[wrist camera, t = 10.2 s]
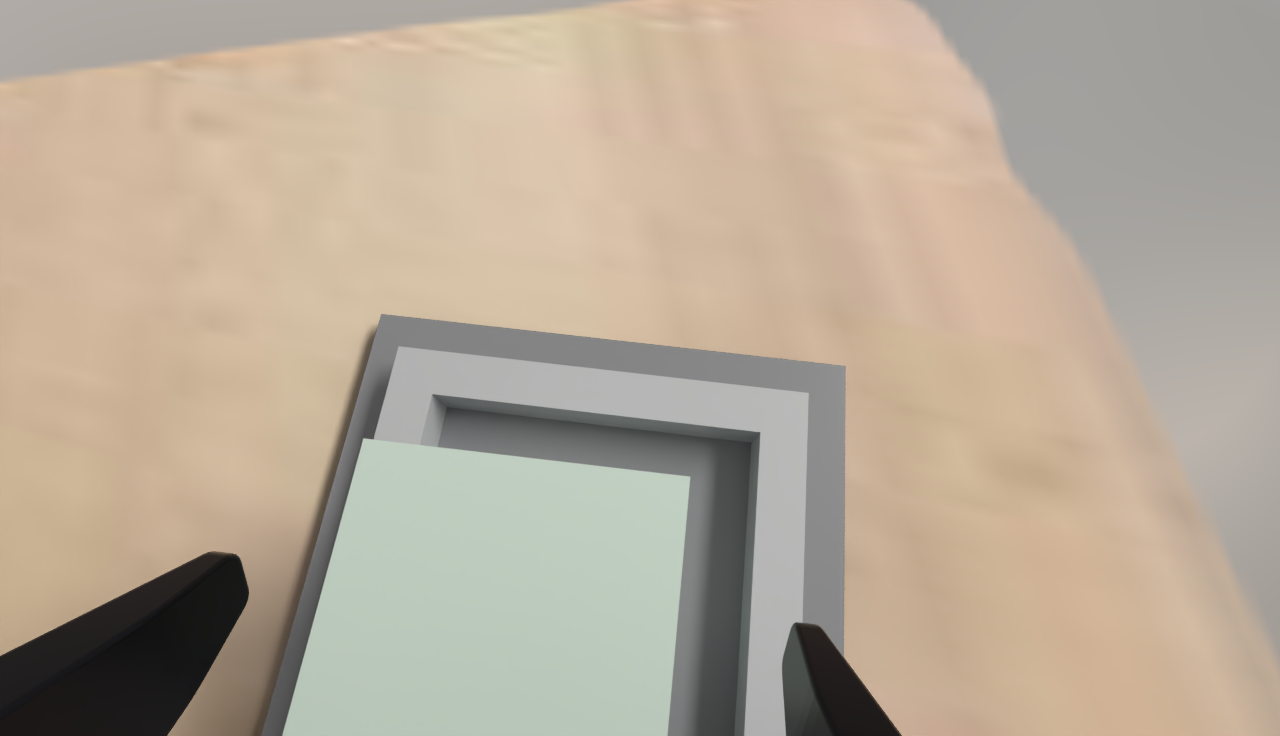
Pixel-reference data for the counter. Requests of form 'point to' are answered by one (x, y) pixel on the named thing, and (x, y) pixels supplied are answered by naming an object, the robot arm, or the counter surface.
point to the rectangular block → (495, 599)
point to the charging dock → (644, 441)
